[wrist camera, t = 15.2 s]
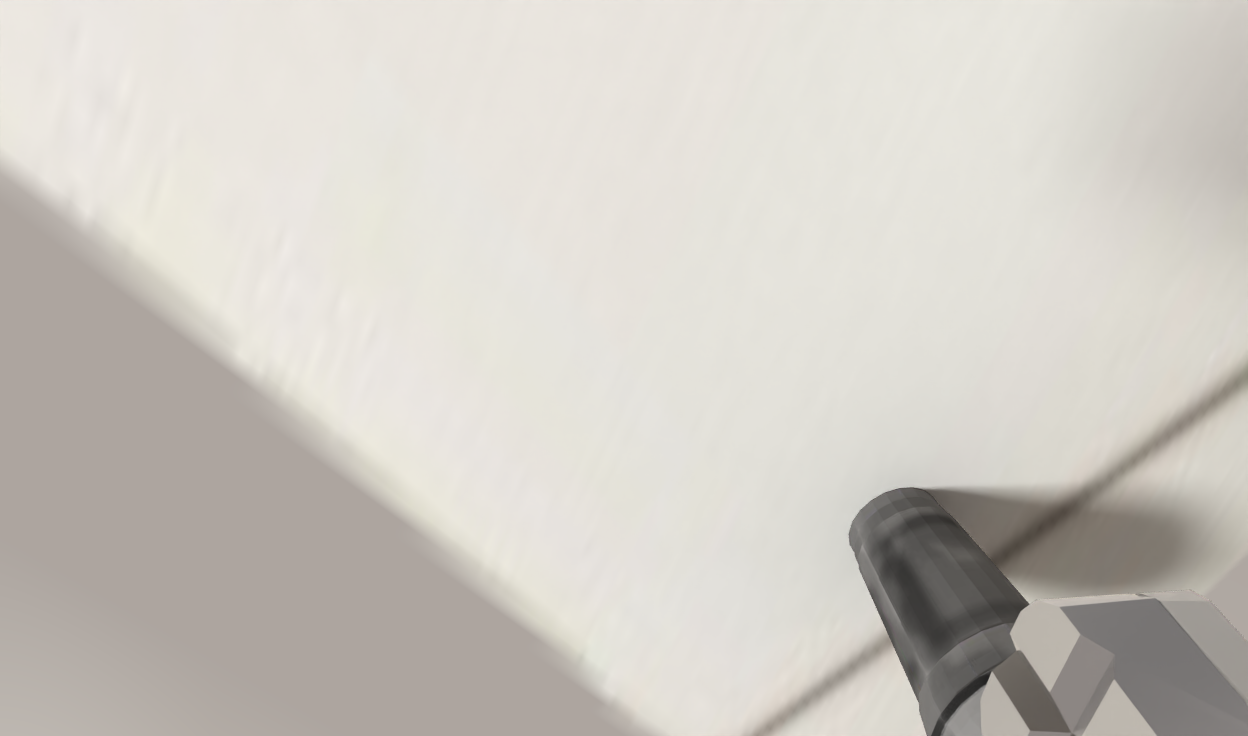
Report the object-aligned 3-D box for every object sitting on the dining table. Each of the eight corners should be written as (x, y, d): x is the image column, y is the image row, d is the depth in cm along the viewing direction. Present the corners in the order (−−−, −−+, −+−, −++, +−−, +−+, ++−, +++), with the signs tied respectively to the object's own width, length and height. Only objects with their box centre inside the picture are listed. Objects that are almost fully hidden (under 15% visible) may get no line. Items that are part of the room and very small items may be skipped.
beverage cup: (923, 436, 52) (1208, 822, 36) (990, 519, 56) (1272, 897, 40) (792, 531, 53) (1011, 942, 37) (867, 604, 58) (1093, 1004, 42)
